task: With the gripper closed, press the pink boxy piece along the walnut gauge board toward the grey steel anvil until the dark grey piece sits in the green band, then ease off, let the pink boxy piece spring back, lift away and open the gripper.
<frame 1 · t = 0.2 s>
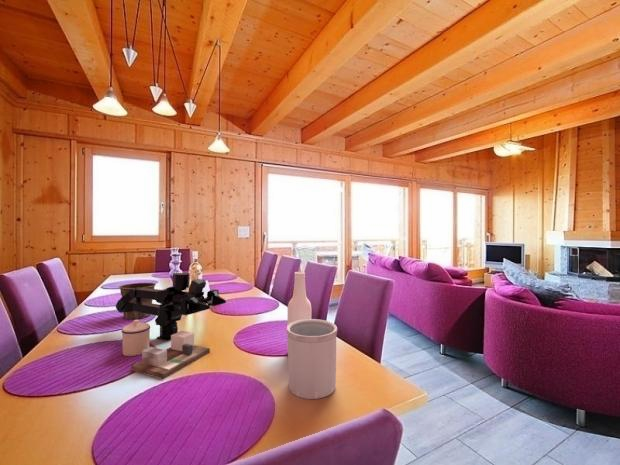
hand: (218, 304, 113), 16 cm above the table, tool horizontal, fingers open, 9 cm apart
dark grey piece: (187, 349, 102), point 3 cm above the table, slide at 0.0 cm
pink boxy piece: (186, 341, 106), point 4 cm above the table, slide at 0.0 cm
gauge board: (172, 361, 100), on the table
alcohol: (299, 354, 107), on the table
plant pot: (137, 316, 150), on the table
utensil holder: (311, 386, 85), on the table
teacup with lid: (133, 351, 108), on the table
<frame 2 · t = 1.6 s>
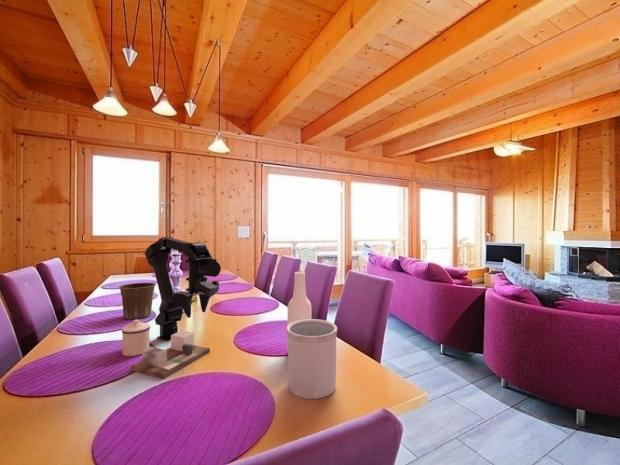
hand: (196, 314, 113), 12 cm above the table, tool pointing down, fingers open, 8 cm apart
nothing on the table moved.
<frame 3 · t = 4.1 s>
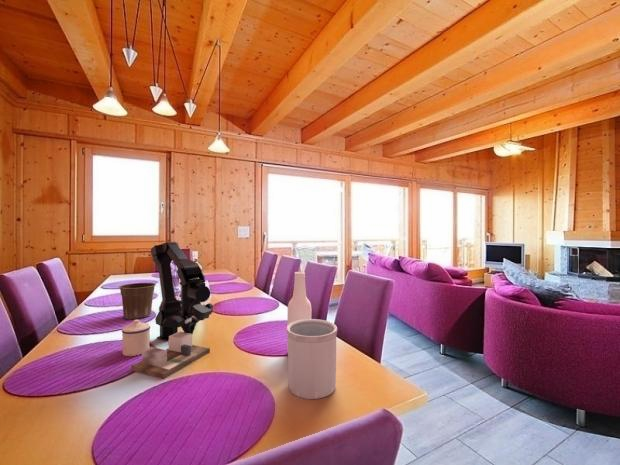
hand: (189, 338, 110), 4 cm above the table, tool pointing down, fingers closed
dark grey piece: (185, 350, 101), point 3 cm above the table, slide at 0.7 cm, touching pink boxy piece
pink boxy piece: (184, 342, 105), point 4 cm above the table, slide at 1.0 cm, touching gripper, dark grey piece
everything else where it was.
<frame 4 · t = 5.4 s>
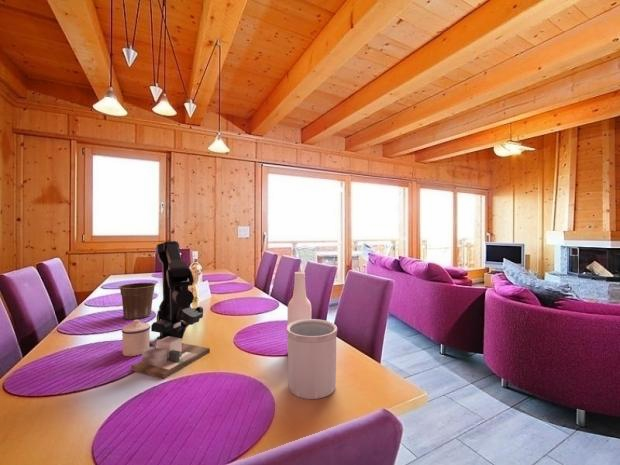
hand: (178, 343, 105), 4 cm above the table, tool pointing down, fingers closed
dark grey piece: (174, 356, 96), point 3 cm above the table, slide at 5.7 cm, touching pink boxy piece
pink boxy piece: (173, 347, 101), point 4 cm above the table, slide at 6.0 cm, touching gripper, dark grey piece
everything else where it was.
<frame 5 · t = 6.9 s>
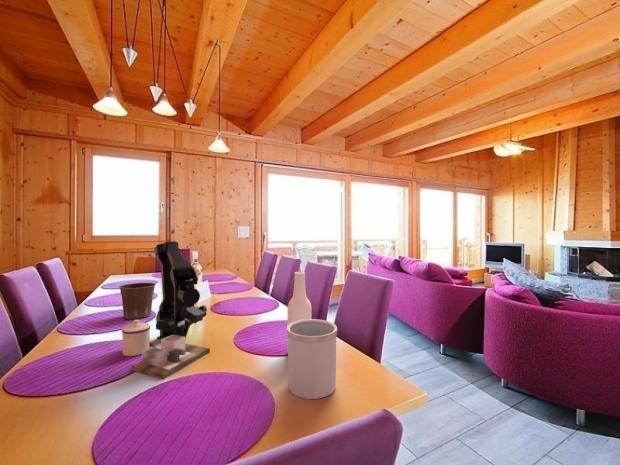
hand: (182, 341, 107), 4 cm above the table, tool pointing down, fingers closed
dark grey piece: (174, 356, 96), point 3 cm above the table, slide at 5.7 cm
pink boxy piece: (177, 346, 102), point 4 cm above the table, slide at 4.3 cm, touching gripper
everything else where it was.
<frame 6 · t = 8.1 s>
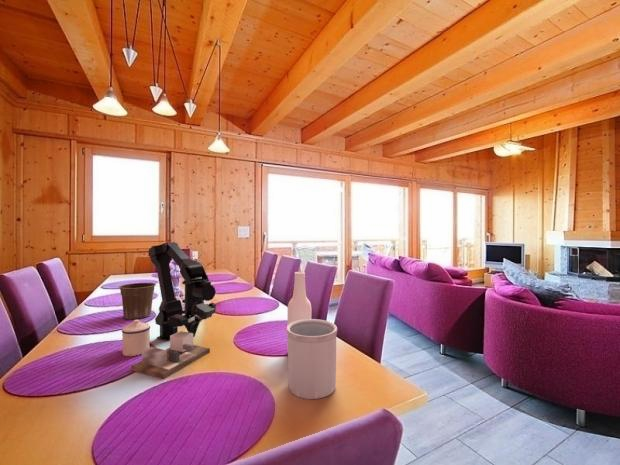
hand: (192, 337, 112), 4 cm above the table, tool pointing down, fingers closed
pink boxy piece: (186, 342, 106), point 4 cm above the table, slide at 0.4 cm
everything else where it was.
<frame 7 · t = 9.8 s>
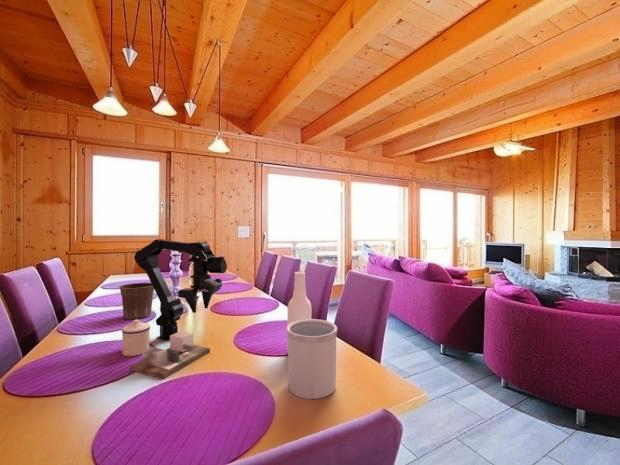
hand: (200, 310, 120), 12 cm above the table, tool pointing down, fingers open, 7 cm apart
nothing on the table moved.
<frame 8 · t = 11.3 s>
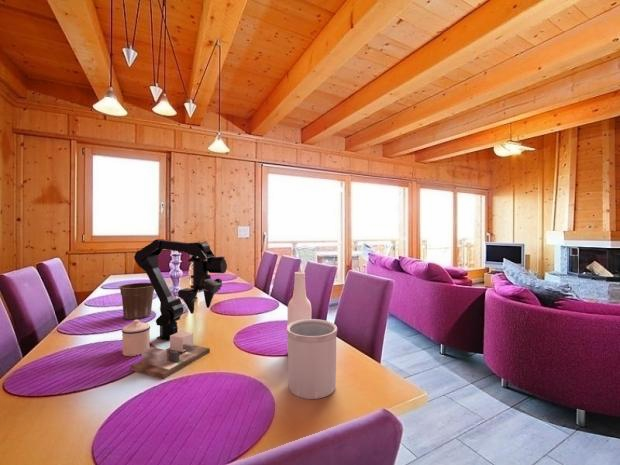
hand: (200, 310, 120), 12 cm above the table, tool pointing down, fingers open, 9 cm apart
nothing on the table moved.
at the end: dark grey piece slide at 5.7 cm; pink boxy piece slide at 0.4 cm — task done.
